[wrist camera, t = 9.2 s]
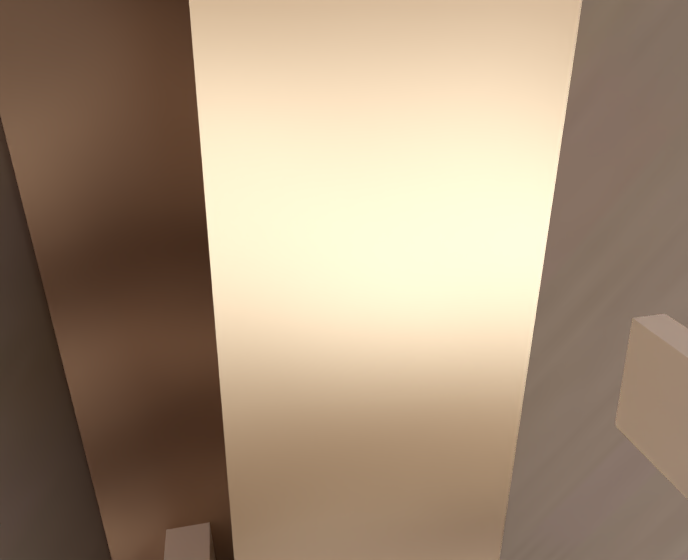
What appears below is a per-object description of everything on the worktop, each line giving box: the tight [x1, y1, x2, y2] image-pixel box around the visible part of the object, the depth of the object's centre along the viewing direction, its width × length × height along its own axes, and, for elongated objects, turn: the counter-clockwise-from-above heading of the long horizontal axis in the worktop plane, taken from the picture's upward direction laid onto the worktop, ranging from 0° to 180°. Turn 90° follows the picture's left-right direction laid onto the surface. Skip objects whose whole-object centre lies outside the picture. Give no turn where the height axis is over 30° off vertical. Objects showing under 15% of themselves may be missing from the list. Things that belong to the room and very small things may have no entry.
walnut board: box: [0, 0, 234, 560], centre depth 20 cm, size 36×14×2 cm, turn 2°
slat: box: [189, 0, 582, 560], centre depth 14 cm, size 24×4×11 cm, turn 179°
